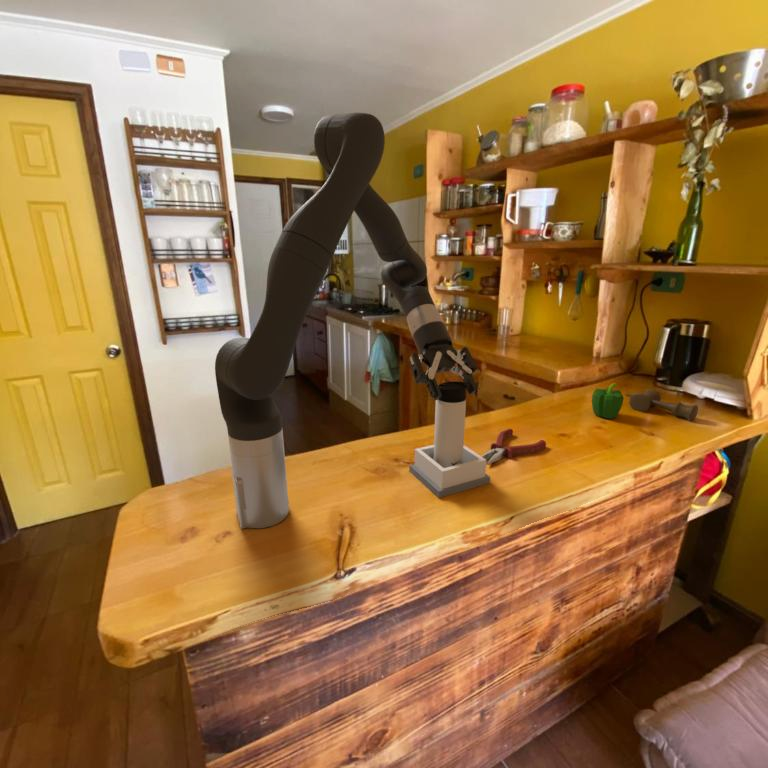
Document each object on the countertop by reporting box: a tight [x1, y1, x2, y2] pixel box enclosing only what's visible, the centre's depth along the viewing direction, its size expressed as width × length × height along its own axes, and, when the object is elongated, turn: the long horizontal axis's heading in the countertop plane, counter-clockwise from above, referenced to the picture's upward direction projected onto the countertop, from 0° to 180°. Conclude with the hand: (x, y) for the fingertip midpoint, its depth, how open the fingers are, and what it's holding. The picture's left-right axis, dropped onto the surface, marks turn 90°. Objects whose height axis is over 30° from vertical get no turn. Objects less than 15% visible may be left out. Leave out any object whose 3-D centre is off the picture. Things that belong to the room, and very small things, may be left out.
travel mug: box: [433, 381, 469, 468], centre depth 88 cm, size 6×7×20 cm
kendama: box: [624, 388, 699, 422], centre depth 128 cm, size 6×10×20 cm
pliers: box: [480, 428, 547, 466], centre depth 102 cm, size 12×20×3 cm, turn 132°
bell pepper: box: [591, 382, 624, 420], centre depth 124 cm, size 8×8×10 cm
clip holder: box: [408, 444, 491, 499], centre depth 90 cm, size 13×12×6 cm
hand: (456, 395), depth 84 cm, fingers open, 8 cm apart
